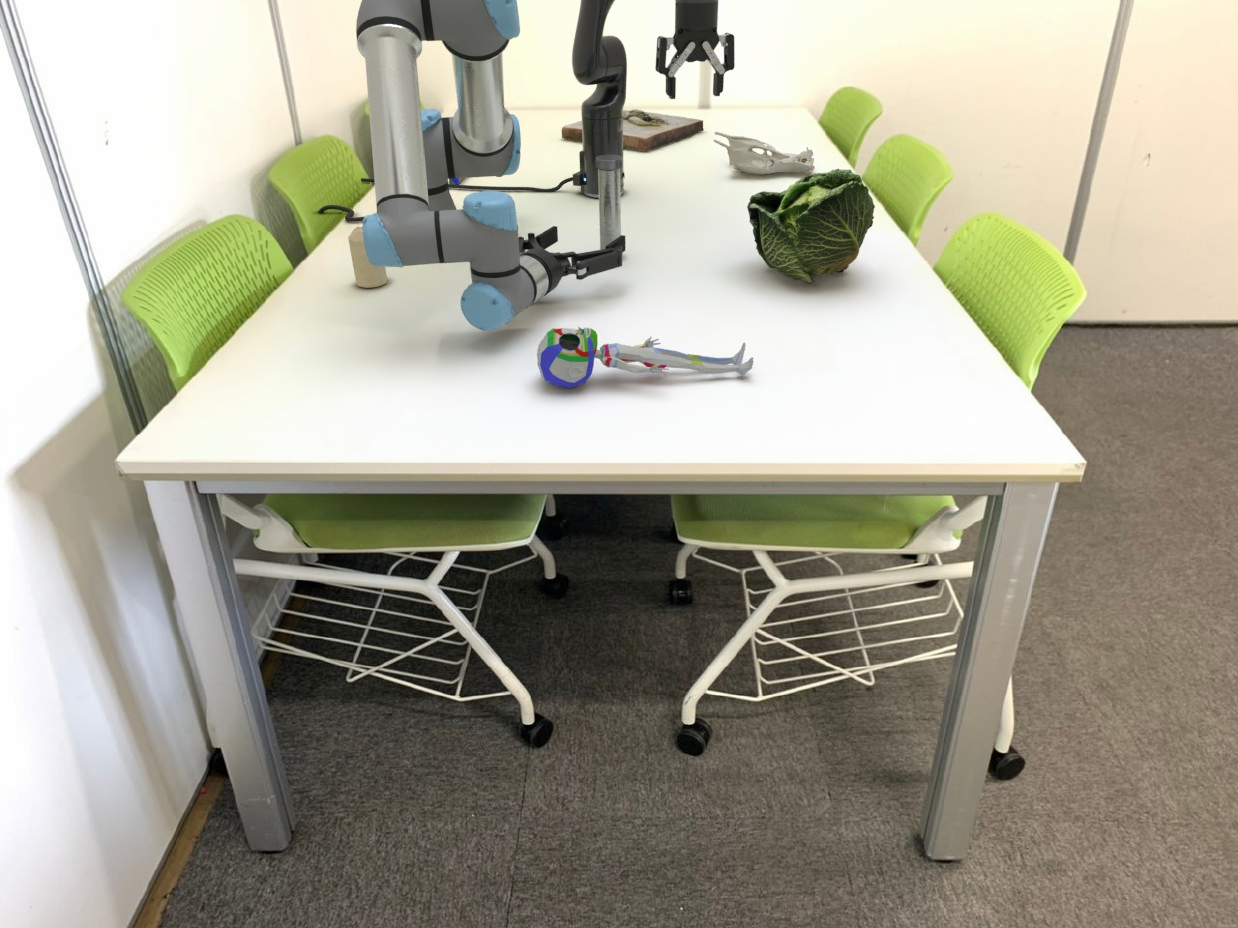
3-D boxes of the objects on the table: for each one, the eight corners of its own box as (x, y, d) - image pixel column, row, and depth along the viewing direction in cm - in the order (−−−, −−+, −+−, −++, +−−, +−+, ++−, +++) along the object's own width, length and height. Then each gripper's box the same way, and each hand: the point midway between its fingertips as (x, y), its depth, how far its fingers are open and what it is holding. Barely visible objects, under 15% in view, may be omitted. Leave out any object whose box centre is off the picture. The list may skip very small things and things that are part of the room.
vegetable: (773, 300, 170) (724, 207, 162) (854, 244, 171) (810, 148, 164) (823, 314, 152) (771, 210, 144) (914, 251, 153) (867, 144, 145)
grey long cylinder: (623, 260, 170) (622, 161, 161) (602, 262, 170) (600, 163, 160) (618, 253, 174) (617, 156, 164) (598, 255, 173) (596, 158, 163)
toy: (760, 356, 123) (541, 338, 118) (747, 410, 127) (536, 395, 123) (743, 326, 131) (539, 309, 127) (732, 378, 136) (534, 363, 131)
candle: (393, 278, 163) (384, 224, 158) (377, 289, 159) (367, 234, 154) (367, 275, 165) (358, 222, 160) (350, 286, 160) (340, 231, 155)
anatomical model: (715, 128, 226) (815, 127, 222) (715, 165, 231) (813, 164, 227) (711, 142, 214) (818, 141, 210) (711, 181, 219) (815, 181, 215)
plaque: (647, 125, 237) (559, 112, 252) (647, 153, 241) (560, 139, 256) (706, 107, 258) (622, 97, 273) (705, 133, 262) (622, 121, 277)
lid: (624, 169, 161) (624, 159, 160) (598, 171, 160) (598, 161, 159) (619, 162, 165) (619, 153, 164) (593, 164, 164) (593, 155, 163)
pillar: (478, 155, 232) (456, 175, 216) (478, 164, 234) (457, 184, 217) (469, 155, 233) (448, 175, 216) (470, 164, 234) (449, 184, 217)
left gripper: (467, 288, 151) (530, 249, 167) (600, 310, 142) (652, 267, 158) (462, 244, 147) (527, 209, 163) (598, 265, 138) (653, 225, 154)
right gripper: (728, -5, 161) (724, 91, 170) (652, -2, 159) (651, 95, 167) (742, -1, 155) (737, 98, 164) (663, 2, 152) (662, 103, 161)
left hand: (589, 238), depth 161 cm, fingers open, 13 cm apart
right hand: (694, 97), depth 165 cm, fingers open, 8 cm apart
